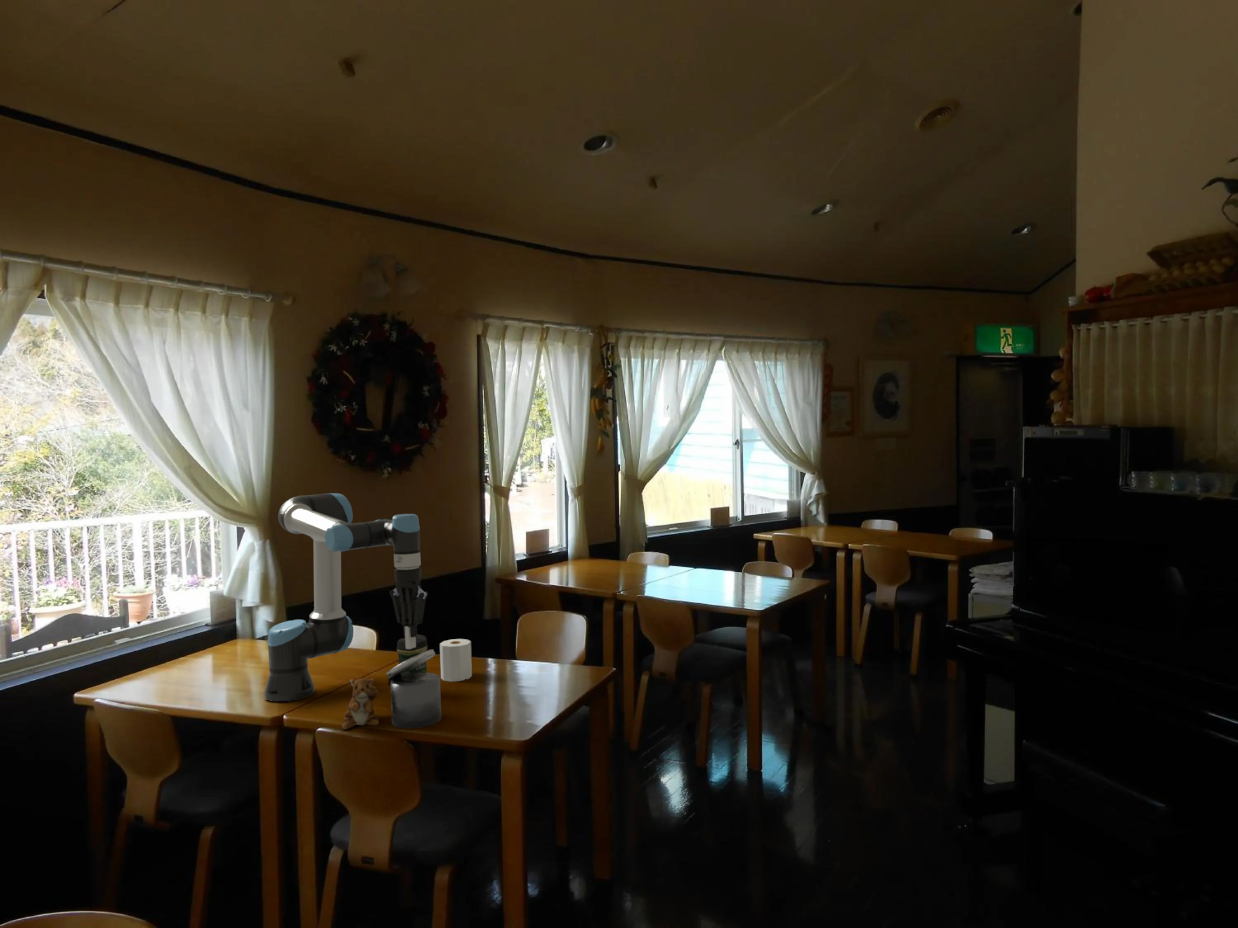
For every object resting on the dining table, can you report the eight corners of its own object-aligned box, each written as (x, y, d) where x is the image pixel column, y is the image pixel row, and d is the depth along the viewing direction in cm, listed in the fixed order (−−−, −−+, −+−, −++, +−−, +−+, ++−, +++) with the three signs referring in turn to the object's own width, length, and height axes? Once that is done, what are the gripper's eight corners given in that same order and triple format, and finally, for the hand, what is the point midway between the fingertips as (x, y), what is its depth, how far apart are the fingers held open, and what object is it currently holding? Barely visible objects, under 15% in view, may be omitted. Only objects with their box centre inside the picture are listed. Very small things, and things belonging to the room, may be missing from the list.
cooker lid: (376, 684, 235) (374, 679, 235) (411, 670, 247) (409, 666, 248) (410, 661, 228) (408, 657, 228) (444, 649, 241) (442, 644, 241)
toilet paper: (435, 677, 280) (434, 642, 279) (462, 670, 286) (461, 636, 286) (450, 683, 272) (449, 647, 272) (477, 676, 279) (476, 642, 278)
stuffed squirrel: (341, 731, 230) (339, 685, 229) (345, 715, 244) (344, 671, 243) (378, 727, 232) (376, 682, 232) (380, 711, 246) (378, 668, 246)
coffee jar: (412, 699, 257) (410, 640, 256) (393, 695, 261) (391, 638, 260) (433, 690, 265) (431, 633, 264) (415, 687, 269) (413, 631, 268)
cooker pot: (377, 723, 235) (376, 682, 235) (411, 708, 248) (409, 669, 247) (419, 731, 228) (417, 689, 228) (451, 715, 241) (449, 675, 240)
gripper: (381, 568, 236) (384, 648, 237) (416, 570, 230) (419, 653, 231) (399, 564, 243) (402, 642, 244) (433, 566, 237) (436, 646, 238)
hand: (410, 647), depth 238 cm, fingers closed
